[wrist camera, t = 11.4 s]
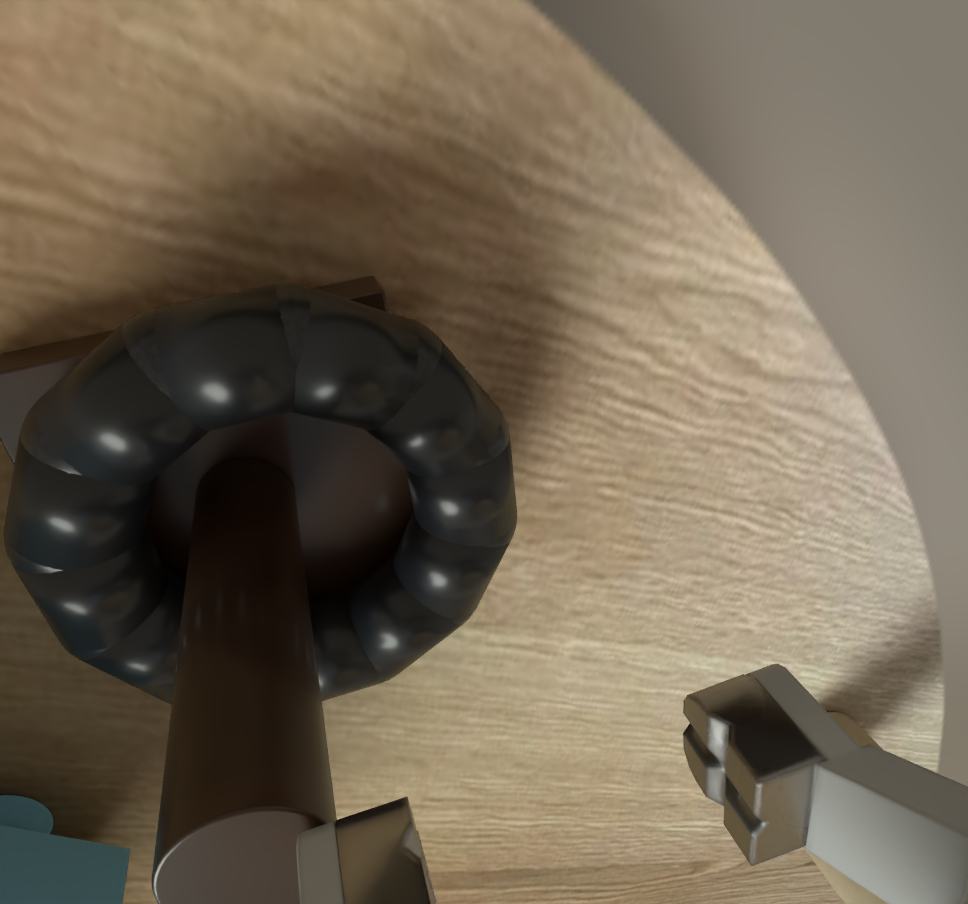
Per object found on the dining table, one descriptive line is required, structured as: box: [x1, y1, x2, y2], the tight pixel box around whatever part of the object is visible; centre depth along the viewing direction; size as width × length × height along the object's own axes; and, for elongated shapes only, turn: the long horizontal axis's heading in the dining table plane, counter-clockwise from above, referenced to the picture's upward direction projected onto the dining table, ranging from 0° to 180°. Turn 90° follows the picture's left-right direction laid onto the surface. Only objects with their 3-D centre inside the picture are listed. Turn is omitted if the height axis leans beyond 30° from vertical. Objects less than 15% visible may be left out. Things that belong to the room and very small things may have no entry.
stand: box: [0, 276, 414, 904], centre depth 14 cm, size 9×9×12 cm
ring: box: [3, 284, 517, 704], centre depth 17 cm, size 11×11×3 cm
